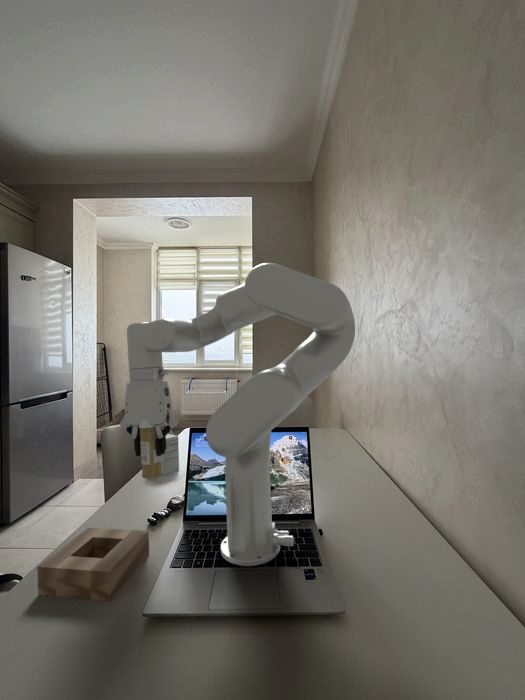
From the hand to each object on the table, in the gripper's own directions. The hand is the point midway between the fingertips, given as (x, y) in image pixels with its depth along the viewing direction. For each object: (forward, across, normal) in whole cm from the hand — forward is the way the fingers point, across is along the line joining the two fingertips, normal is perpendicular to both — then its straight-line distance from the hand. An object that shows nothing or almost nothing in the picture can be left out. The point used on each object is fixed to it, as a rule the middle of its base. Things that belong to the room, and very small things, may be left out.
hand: (150, 453), depth 82 cm
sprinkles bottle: (+5, 0, 0) cm, 5 cm away
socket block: (+19, +5, +14) cm, 24 cm away
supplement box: (+19, +18, -44) cm, 51 cm away
